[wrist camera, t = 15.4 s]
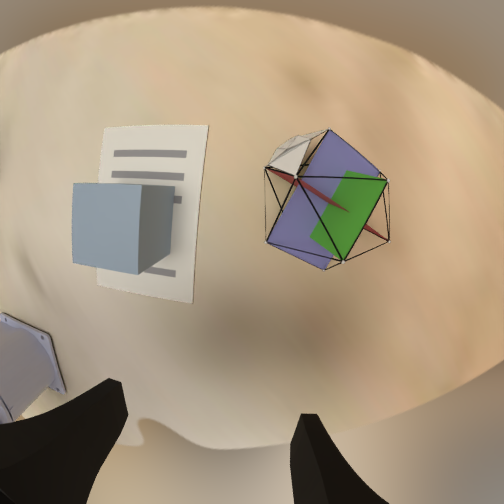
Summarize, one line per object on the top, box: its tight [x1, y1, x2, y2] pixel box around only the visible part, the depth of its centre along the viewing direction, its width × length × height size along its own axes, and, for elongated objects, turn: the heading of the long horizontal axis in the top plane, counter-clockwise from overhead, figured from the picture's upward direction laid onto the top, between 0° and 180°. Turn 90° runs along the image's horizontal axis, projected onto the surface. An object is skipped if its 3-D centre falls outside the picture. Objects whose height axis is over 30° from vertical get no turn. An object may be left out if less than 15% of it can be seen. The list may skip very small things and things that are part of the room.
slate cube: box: [72, 183, 175, 275], centre depth 15 cm, size 4×4×5 cm
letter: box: [96, 125, 209, 304], centre depth 18 cm, size 8×12×1 cm, turn 173°
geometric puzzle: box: [263, 127, 391, 272], centre depth 14 cm, size 7×7×8 cm
